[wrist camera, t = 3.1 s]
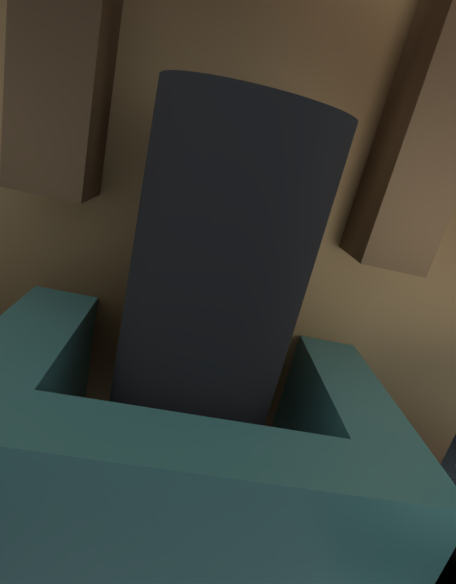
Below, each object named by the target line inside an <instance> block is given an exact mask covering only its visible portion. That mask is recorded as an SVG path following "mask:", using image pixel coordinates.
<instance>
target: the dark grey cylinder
mask: <svg viewBox="0 0 456 584" xmlns="http://www.w3.org/2000/svg"><path fill="white" fill-rule="evenodd" d="M358 122H359V121H358V119H357V118H355V117H354V116H352V115H351V114H349V113H347V112H345V111H342V110H340V109H338V108H335V107H333V106H330V105H328V104H325V103H322V102H319V101H316V100H313V99H310V98H307V97H304V96H301V95H297V94H294V93H290V92H287V91H283V90H280V89H276V88H272V87H268V86H264V85H260V84H256V83H252V82H247V81H243V80H238V79H234V78H229V77H224V76H218V75H213V74H206V73H200V72H192V71H183V70H164V71H161V72H160V73H159V79H158V85H157V92H156V98H155V105H154V111H153V118H152V124H151V131H150V137H149V144H148V151H147V157H146V164H145V170H144V177H143V183H142V190H141V196H140V203H139V209H138V216H137V223H136V229H135V236H134V242H133V249H132V255H131V262H130V268H129V275H128V281H127V288H126V295H125V301H124V308H123V314H122V321H121V327H120V334H119V340H118V347H117V353H116V360H115V366H114V373H113V380H112V386H111V393H110V399H109V401H110V402H117V403H123V404H129V405H136V406H142V407H148V408H155V409H161V410H168V411H174V412H180V413H187V414H193V415H199V416H206V417H212V418H219V419H225V420H231V421H238V422H244V423H250V424H257V425H263V426H265V422H266V419H267V416H268V413H269V409H270V406H271V403H272V400H273V397H274V393H275V390H276V387H277V384H278V380H279V377H280V374H281V371H282V367H283V364H284V361H285V358H286V354H287V351H288V348H289V345H290V342H291V338H292V335H293V332H294V329H295V325H296V322H297V319H298V316H299V312H300V309H301V306H302V303H303V300H304V296H305V293H306V290H307V287H308V283H309V280H310V277H311V274H312V270H313V267H314V264H315V261H316V258H317V254H318V251H319V248H320V245H321V241H322V238H323V235H324V232H325V228H326V225H327V222H328V219H329V215H330V212H331V209H332V206H333V203H334V199H335V196H336V193H337V190H338V186H339V183H340V180H341V177H342V173H343V170H344V167H345V164H346V161H347V157H348V154H349V151H350V148H351V144H352V141H353V138H354V135H355V131H356V128H357V125H358Z"/></svg>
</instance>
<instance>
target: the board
mask: <svg viewBox="0 0 456 584" xmlns="http://www.w3.org/2000/svg"><path fill="white" fill-rule="evenodd" d="M164 70H183V71H192V72H200V73H206V74H213V75H218V76H224V77H229V78H234V79H238V80H243V81H247V82H252V83H256V84H260V85H264V86H268V87H272V88H276V89H280V90H283V91H287V92H290V93H294V94H297V95H301V96H304V97H307V98H310V99H313V100H316V101H319V102H322V103H325V104H328V105H330V106H333V107H335V108H338V109H340V110H342V111H345V112H347V113H349V114H351V115H352V116H354V117H355V118H357V119H358V121H359V122H358V125H357V128H356V131H355V135H354V138H353V141H352V144H351V148H350V151H349V154H348V157H347V161H346V164H345V167H344V170H343V173H342V177H341V180H340V183H339V186H338V190H337V193H336V196H335V199H334V203H333V206H332V209H331V212H330V215H329V219H328V222H327V225H326V228H325V232H324V235H323V238H322V241H321V245H320V248H319V251H318V254H317V258H316V261H315V264H314V267H313V270H312V274H311V277H310V280H309V283H308V287H307V290H306V293H305V296H304V300H303V303H302V306H301V309H300V312H299V316H298V319H297V322H296V325H295V329H294V332H293V335H292V338H291V342H290V345H289V348H288V351H287V354H286V358H285V361H284V364H283V367H282V371H281V374H280V377H279V380H278V384H277V387H276V390H275V393H274V397H273V400H272V403H271V406H270V409H269V413H268V416H267V419H266V422H265V426H270V427H272V423H273V420H274V417H275V414H276V411H277V408H278V405H279V401H280V398H281V395H282V392H283V389H284V386H285V382H286V379H287V376H288V373H289V370H290V367H291V363H292V360H293V357H294V354H295V351H296V348H297V344H298V341H299V338H300V335H301V336H306V337H311V338H317V339H322V340H327V341H333V342H338V343H343V344H349V345H354V347H355V348H356V349H357V351H358V352H359V353H360V355H361V356H362V358H363V359H364V360H365V362H366V363H367V364H368V366H369V367H370V369H371V370H372V371H373V373H374V374H375V375H376V377H377V378H378V380H379V381H380V382H381V384H382V385H383V386H384V388H385V389H386V391H387V392H388V393H389V395H390V396H391V397H392V399H393V400H394V401H395V403H396V404H397V406H398V407H399V408H400V410H401V411H402V412H403V414H404V415H405V417H406V418H407V419H408V421H409V422H410V423H411V425H412V426H413V428H414V429H415V430H416V432H417V433H418V434H419V436H420V437H421V439H422V440H423V441H424V443H425V444H426V445H427V447H428V448H429V450H430V451H431V452H432V454H433V455H434V456H435V458H436V459H437V461H438V462H439V463H440V464H441V462H442V460H443V458H444V456H445V454H446V452H447V450H448V448H449V446H450V444H451V442H452V440H453V438H454V436H455V434H456V0H0V315H2V314H3V313H4V312H5V311H6V310H8V309H9V308H10V307H11V306H12V305H13V304H15V303H16V302H17V301H18V300H19V299H21V298H22V297H23V296H24V295H25V294H27V293H28V292H29V291H30V290H31V289H32V288H34V287H35V286H39V287H44V288H50V289H55V290H60V291H66V292H71V293H76V294H82V295H87V296H92V297H98V303H97V311H96V318H95V326H94V334H93V342H92V349H91V357H90V365H89V372H88V380H87V388H86V396H85V398H91V399H97V400H104V401H109V399H110V393H111V386H112V380H113V373H114V366H115V360H116V353H117V347H118V340H119V334H120V327H121V321H122V314H123V308H124V301H125V295H126V288H127V281H128V275H129V268H130V262H131V255H132V249H133V242H134V236H135V229H136V223H137V216H138V209H139V203H140V196H141V190H142V183H143V177H144V170H145V164H146V157H147V151H148V144H149V137H150V131H151V124H152V118H153V111H154V105H155V98H156V92H157V85H158V79H159V73H160V72H161V71H164Z"/></svg>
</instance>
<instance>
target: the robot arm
mask: <svg viewBox="0 0 456 584" xmlns="http://www.w3.org/2000/svg"><path fill="white" fill-rule="evenodd" d="M435 584H456V547H455V549H454V551H453V553H452V554H451V556H450V558H449V560H448V562H447V563H446V565H445V567H444V569H443V570H442V572H441V574H440V576H439V578H438V579H437V581H436V583H435Z"/></svg>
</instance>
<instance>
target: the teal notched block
mask: <svg viewBox="0 0 456 584" xmlns="http://www.w3.org/2000/svg"><path fill="white" fill-rule="evenodd" d="M97 303H98V297H92V296H87V295H82V294H76V293H71V292H66V291H60V290H55V289H50V288H44V287H39V286H35V287H34V288H32V289H31V290H30V291H29V292H28V293H27V294H25V295H24V296H23V297H22V298H21V299H19V300H18V301H17V302H16V303H15V304H13V305H12V306H11V307H10V308H9V309H8V310H6V311H5V312H4V313H3V314H2V315H0V584H435V583H436V581H437V579H438V578H439V576H440V574H441V572H442V570H443V569H444V567H445V565H446V563H447V562H448V560H449V558H450V556H451V554H452V553H453V551H454V549H455V547H456V485H455V484H454V483H453V481H452V480H451V478H450V477H449V476H448V474H447V473H446V472H445V470H444V469H443V467H442V466H441V465H440V463H439V462H438V461H437V459H436V458H435V456H434V455H433V454H432V452H431V451H430V450H429V448H428V447H427V445H426V444H425V443H424V441H423V440H422V439H421V437H420V436H419V434H418V433H417V432H416V430H415V429H414V428H413V426H412V425H411V423H410V422H409V421H408V419H407V418H406V417H405V415H404V414H403V412H402V411H401V410H400V408H399V407H398V406H397V404H396V403H395V401H394V400H393V399H392V397H391V396H390V395H389V393H388V392H387V391H386V389H385V388H384V386H383V385H382V384H381V382H380V381H379V380H378V378H377V377H376V375H375V374H374V373H373V371H372V370H371V369H370V367H369V366H368V364H367V363H366V362H365V360H364V359H363V358H362V356H361V355H360V353H359V352H358V351H357V349H356V348H355V347H354V345H349V344H343V343H338V342H333V341H327V340H322V339H317V338H311V337H306V336H301V335H300V338H299V341H298V344H297V348H296V351H295V354H294V357H293V360H292V363H291V367H290V370H289V373H288V376H287V379H286V382H285V386H284V389H283V392H282V395H281V398H280V401H279V405H278V408H277V411H276V414H275V417H274V420H273V423H272V427H270V426H263V425H257V424H250V423H244V422H238V421H231V420H225V419H219V418H212V417H206V416H199V415H193V414H187V413H180V412H174V411H168V410H161V409H155V408H148V407H142V406H136V405H129V404H123V403H117V402H110V401H104V400H97V399H91V398H85V396H86V388H87V380H88V372H89V365H90V357H91V349H92V342H93V334H94V326H95V318H96V311H97Z"/></svg>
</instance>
